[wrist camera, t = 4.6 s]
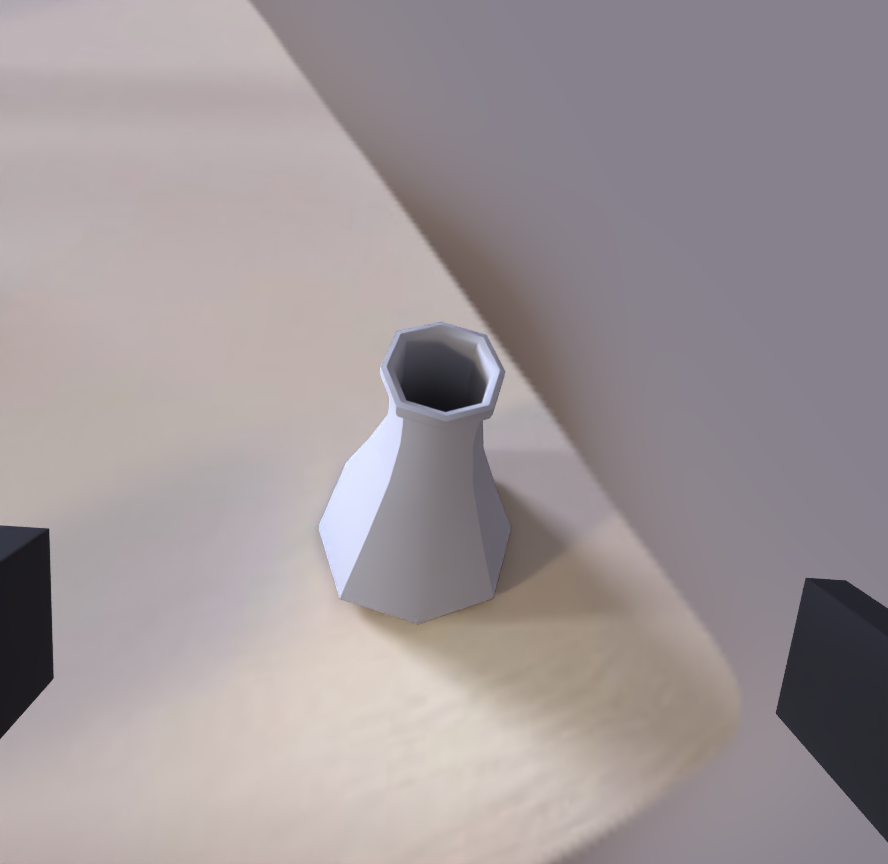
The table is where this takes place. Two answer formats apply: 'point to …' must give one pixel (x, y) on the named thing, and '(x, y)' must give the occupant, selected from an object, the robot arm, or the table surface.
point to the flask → (423, 484)
